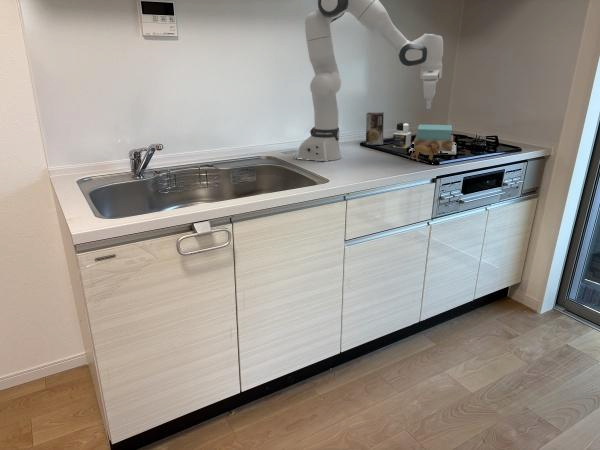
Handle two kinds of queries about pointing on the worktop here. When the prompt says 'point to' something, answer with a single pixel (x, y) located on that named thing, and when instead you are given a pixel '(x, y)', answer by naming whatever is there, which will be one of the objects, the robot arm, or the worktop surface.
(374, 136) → the coffee box
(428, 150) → the lion figurine
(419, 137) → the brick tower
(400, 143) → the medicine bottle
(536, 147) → the worktop surface
